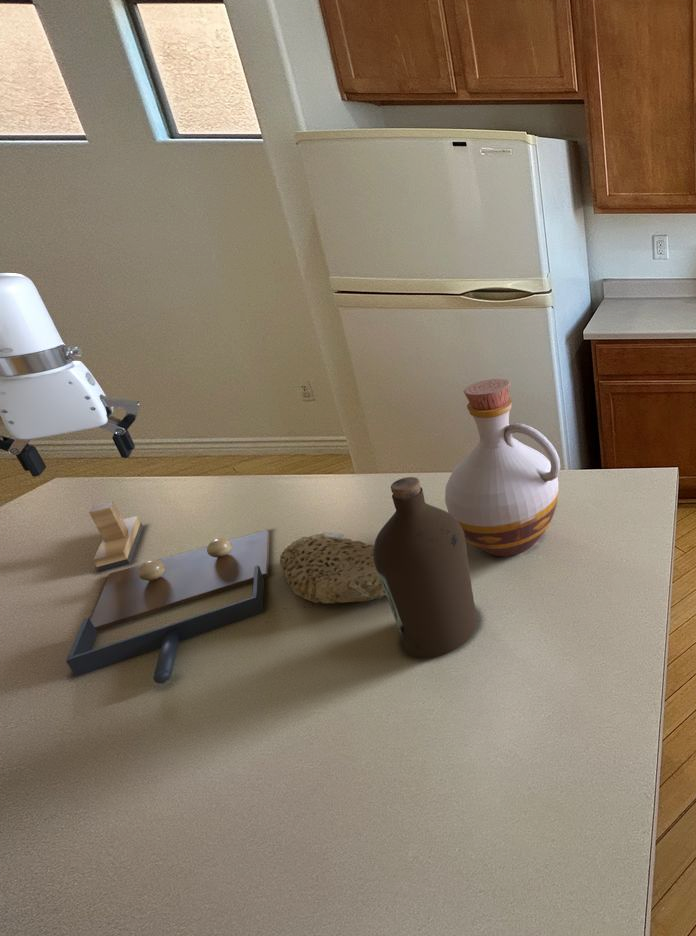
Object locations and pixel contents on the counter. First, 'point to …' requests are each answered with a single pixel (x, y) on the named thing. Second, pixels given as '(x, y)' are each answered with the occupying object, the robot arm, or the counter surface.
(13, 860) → the counter surface
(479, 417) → the jug
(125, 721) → the counter surface
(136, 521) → the brush
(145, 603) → the board
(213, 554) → the ball
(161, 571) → the ball
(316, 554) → the sponge
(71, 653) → the dustpan
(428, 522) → the olive oil
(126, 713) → the counter surface
